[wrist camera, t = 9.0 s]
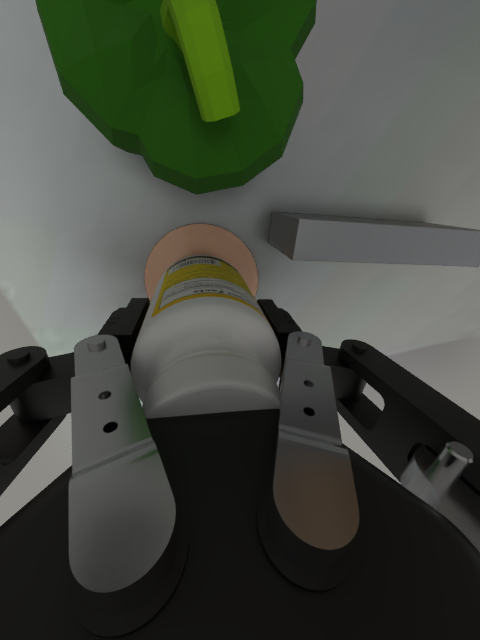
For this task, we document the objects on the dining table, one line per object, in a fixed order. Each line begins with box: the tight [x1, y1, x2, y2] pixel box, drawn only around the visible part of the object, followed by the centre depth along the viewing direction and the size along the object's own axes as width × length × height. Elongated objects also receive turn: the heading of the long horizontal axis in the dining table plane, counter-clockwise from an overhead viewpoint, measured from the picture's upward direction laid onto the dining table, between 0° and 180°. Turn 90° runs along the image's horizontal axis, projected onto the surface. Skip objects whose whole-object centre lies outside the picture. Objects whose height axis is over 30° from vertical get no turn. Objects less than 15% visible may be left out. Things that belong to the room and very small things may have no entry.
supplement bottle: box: [130, 255, 281, 419], centre depth 10 cm, size 5×5×10 cm
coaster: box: [144, 223, 258, 301], centre depth 17 cm, size 8×8×1 cm
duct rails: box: [268, 212, 480, 267], centre depth 12 cm, size 12×16×5 cm
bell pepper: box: [36, 0, 317, 194], centre depth 9 cm, size 8×8×10 cm
